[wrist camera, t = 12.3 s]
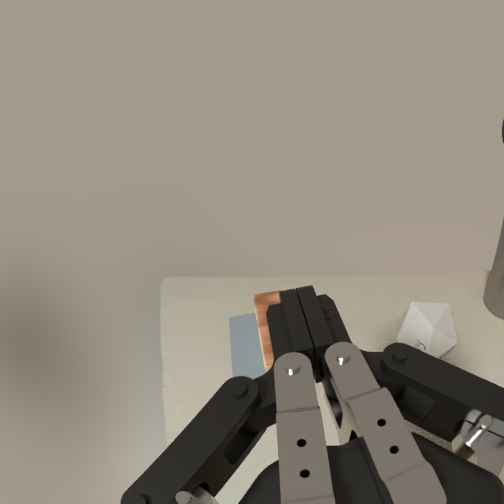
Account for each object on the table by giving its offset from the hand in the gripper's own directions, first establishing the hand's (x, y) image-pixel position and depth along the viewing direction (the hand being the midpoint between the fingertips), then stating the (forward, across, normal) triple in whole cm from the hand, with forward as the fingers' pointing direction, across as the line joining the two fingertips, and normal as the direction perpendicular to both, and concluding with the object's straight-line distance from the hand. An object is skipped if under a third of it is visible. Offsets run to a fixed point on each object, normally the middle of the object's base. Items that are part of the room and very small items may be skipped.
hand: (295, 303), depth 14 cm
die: (+13, -19, +26) cm, 35 cm away
